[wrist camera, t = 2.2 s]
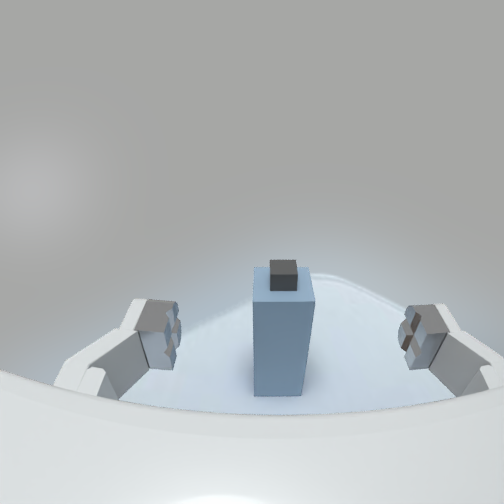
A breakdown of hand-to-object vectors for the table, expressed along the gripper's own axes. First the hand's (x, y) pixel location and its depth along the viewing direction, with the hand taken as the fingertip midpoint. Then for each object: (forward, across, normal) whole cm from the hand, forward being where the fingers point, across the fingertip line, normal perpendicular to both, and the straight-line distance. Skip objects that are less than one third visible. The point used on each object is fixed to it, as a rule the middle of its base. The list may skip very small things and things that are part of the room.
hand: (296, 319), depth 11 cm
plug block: (+12, -1, +19) cm, 23 cm away
